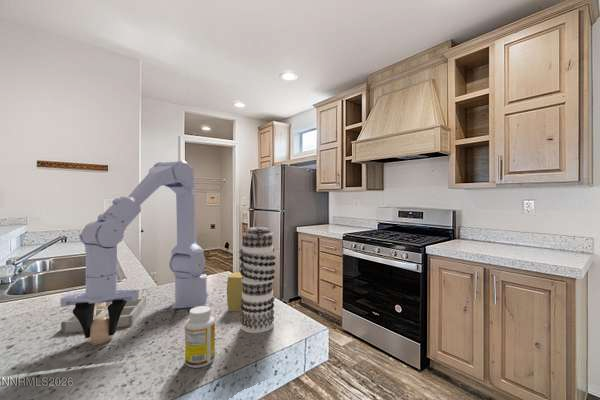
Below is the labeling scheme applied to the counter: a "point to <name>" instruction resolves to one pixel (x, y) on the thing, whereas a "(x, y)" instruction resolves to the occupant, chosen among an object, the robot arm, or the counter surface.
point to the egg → (100, 331)
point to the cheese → (234, 292)
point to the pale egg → (100, 305)
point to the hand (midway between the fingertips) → (101, 334)
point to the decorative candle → (257, 280)
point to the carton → (126, 317)
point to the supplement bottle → (199, 337)
